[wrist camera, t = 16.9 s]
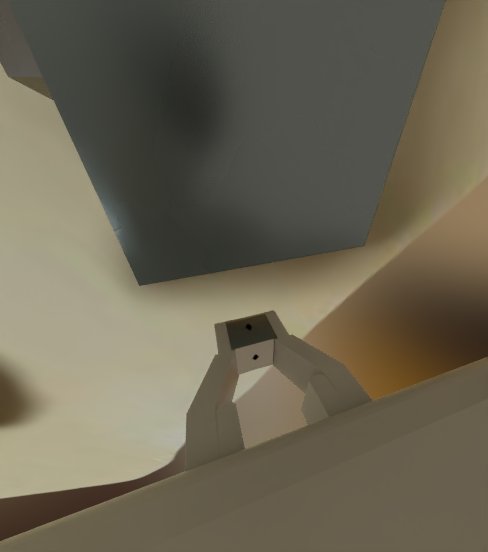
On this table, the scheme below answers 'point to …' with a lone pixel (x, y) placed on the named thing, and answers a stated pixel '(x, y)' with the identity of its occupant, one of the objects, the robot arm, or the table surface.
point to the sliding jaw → (232, 119)
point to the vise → (18, 53)
